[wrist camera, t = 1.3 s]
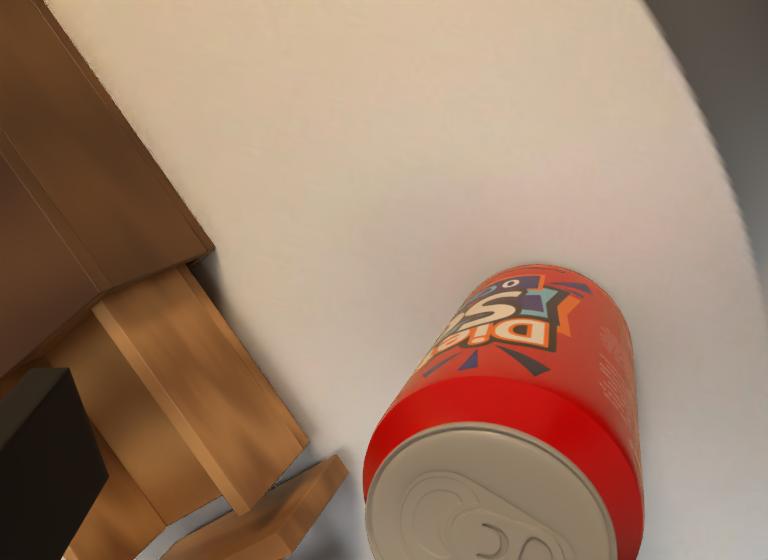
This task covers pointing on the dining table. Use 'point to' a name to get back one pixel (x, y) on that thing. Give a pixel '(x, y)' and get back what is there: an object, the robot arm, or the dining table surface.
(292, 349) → the dining table surface
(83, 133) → the cabinet
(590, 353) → the soda can
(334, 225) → the dining table surface
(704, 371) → the dining table surface
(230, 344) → the drawer
